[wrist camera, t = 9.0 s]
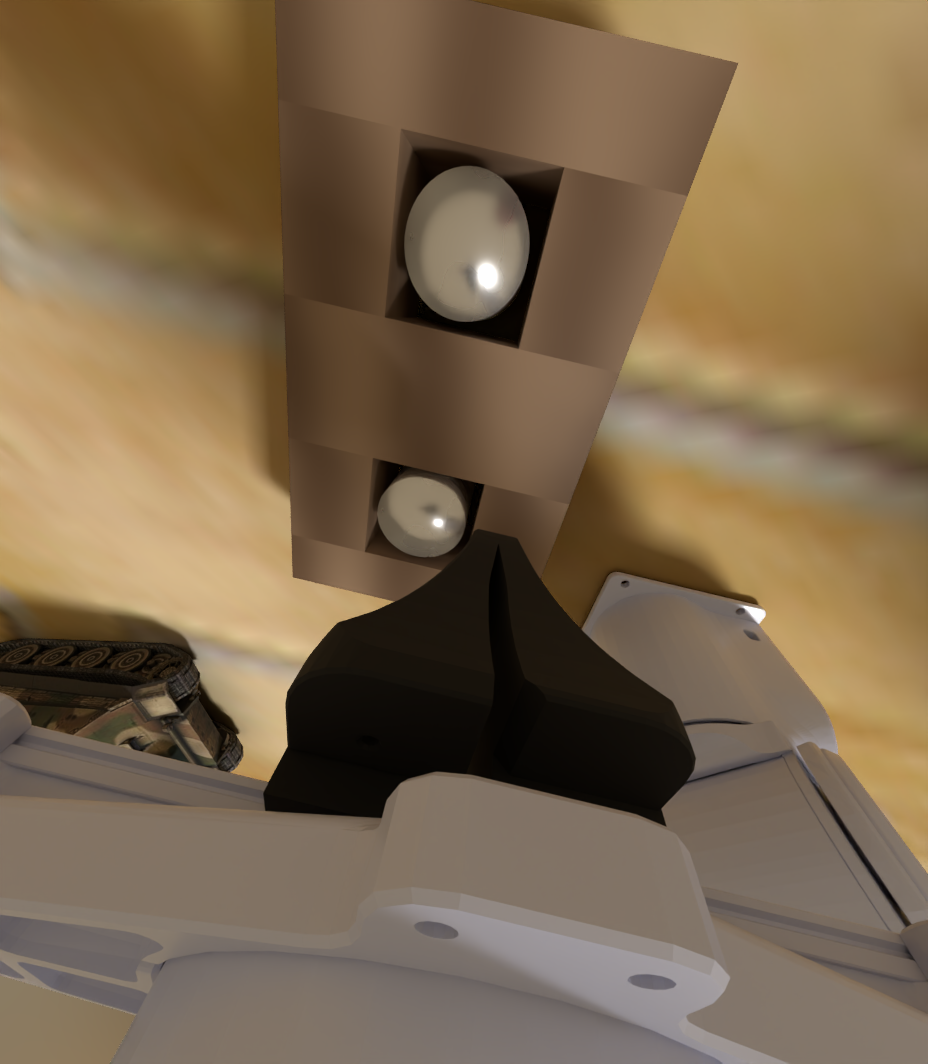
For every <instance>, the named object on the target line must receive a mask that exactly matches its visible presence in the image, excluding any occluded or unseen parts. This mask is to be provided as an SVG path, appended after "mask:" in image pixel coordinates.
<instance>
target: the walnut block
mask: <svg viewBox="0 0 928 1064" xmlns="http://www.w3.org/2000/svg"><path fill="white" fill-rule="evenodd" d="M275 12H276V45H277V77H278V110H279V142H280V175H281V208H282V240H283V273H284V305H285V338H286V371H287V403H288V436H289V468H290V501H291V534H292V566H293V577H294V578H299V579H303V580H307V581H311V582H315V583H319V584H324V585H328V586H332V587H336V588H340V589H345V590H349V591H353V592H357V593H361V594H366V595H370V596H374V597H378V598H382V599H386V600H391V601H397V600H399V599H401V598H403V597H405V596H406V595H408V594H410V593H411V592H413V591H415V590H416V589H418V588H419V587H421V586H422V585H424V584H425V583H427V582H428V581H429V580H431V579H432V578H433V577H435V576H436V575H437V574H438V573H439V572H441V571H442V570H443V569H444V568H445V567H446V566H447V565H448V564H449V563H450V562H451V561H452V560H453V559H454V558H455V557H456V556H457V555H458V554H459V553H460V552H461V550H462V549H463V548H464V547H465V546H466V544H467V543H468V541H469V540H470V538H471V537H472V535H473V532H474V531H475V530H477V529H481V530H486V531H490V532H494V533H498V534H502V535H507V536H511V537H515V538H517V539H518V540H519V542H520V544H521V546H522V548H523V550H524V552H525V554H526V555H527V557H528V559H529V561H530V563H531V565H532V566H533V568H534V570H535V571H536V573H537V575H538V576H539V578H540V579H541V577H542V574H543V571H544V569H545V566H546V564H547V561H548V558H549V556H550V553H551V550H552V548H553V545H554V543H555V540H556V537H557V535H558V532H559V530H560V527H561V524H562V522H563V519H564V517H565V514H566V511H567V509H568V506H569V504H570V501H571V498H572V496H573V493H574V490H575V488H576V485H577V483H578V480H579V477H580V475H581V472H582V470H583V467H584V464H585V462H586V459H587V457H588V454H589V451H590V449H591V446H592V444H593V441H594V438H595V436H596V433H597V430H598V428H599V425H600V423H601V420H602V417H603V415H604V412H605V410H606V407H607V404H608V402H609V399H610V397H611V394H612V391H613V389H614V386H615V384H616V381H617V378H618V376H619V373H620V370H621V368H622V365H623V363H624V360H625V357H626V355H627V352H628V350H629V347H630V344H631V342H632V339H633V337H634V334H635V331H636V329H637V326H638V324H639V321H640V318H641V316H642V313H643V311H644V308H645V305H646V303H647V300H648V297H649V295H650V292H651V290H652V287H653V284H654V282H655V279H656V277H657V274H658V271H659V269H660V266H661V264H662V261H663V258H664V256H665V253H666V251H667V248H668V245H669V243H670V240H671V237H672V235H673V232H674V230H675V227H676V224H677V222H678V219H679V217H680V214H681V211H682V209H683V206H684V204H685V201H686V198H687V196H688V193H689V191H690V188H691V185H692V183H693V180H694V177H695V175H696V172H697V170H698V167H699V164H700V162H701V159H702V157H703V154H704V151H705V149H706V146H707V144H708V141H709V138H710V136H711V133H712V131H713V128H714V125H715V123H716V120H717V117H718V115H719V112H720V110H721V107H722V104H723V102H724V99H725V97H726V94H727V91H728V89H729V86H730V84H731V81H732V78H733V76H734V73H735V71H736V68H737V65H738V63H735V62H731V61H727V60H722V59H718V58H714V57H710V56H705V55H701V54H697V53H693V52H688V51H684V50H680V49H676V48H671V47H667V46H663V45H659V44H654V43H650V42H646V41H642V40H637V39H633V38H629V37H625V36H620V35H616V34H612V33H607V32H603V31H599V30H595V29H590V28H586V27H582V26H578V25H573V24H569V23H565V22H561V21H556V20H552V19H548V18H544V17H539V16H535V15H531V14H527V13H522V12H518V11H514V10H510V9H505V8H501V7H497V6H493V5H488V4H484V3H480V2H475V1H471V0H275ZM460 166H475V167H481V168H484V169H487V170H489V171H491V172H493V173H495V174H497V175H498V176H499V177H501V178H502V179H503V180H504V181H505V182H506V183H507V184H508V185H509V186H510V187H511V188H512V190H513V191H514V192H515V194H516V195H517V197H518V199H519V201H520V202H521V203H523V204H527V205H532V206H536V207H540V208H544V209H549V210H550V214H549V218H548V223H547V227H546V231H545V235H544V239H543V243H542V247H541V251H540V255H539V259H538V263H537V267H536V271H535V275H534V279H533V283H532V287H531V291H530V295H529V299H528V303H527V307H526V311H525V315H524V319H523V324H522V328H521V332H520V336H519V340H518V341H514V340H510V339H505V338H501V337H497V336H493V335H489V334H484V333H480V332H476V331H472V330H467V329H463V328H459V327H455V326H451V325H446V324H442V323H438V322H434V321H429V320H425V319H421V318H417V312H418V304H419V294H418V293H417V291H416V289H415V287H414V286H413V284H412V281H411V279H410V276H409V273H408V269H407V266H406V260H405V250H404V240H405V231H406V225H407V221H408V217H409V214H410V212H411V209H412V206H413V204H414V203H415V201H416V199H417V197H418V196H419V194H420V193H421V191H422V190H423V189H424V188H425V186H426V185H427V184H428V183H429V182H430V181H431V180H433V179H434V178H435V177H436V176H438V175H439V174H441V173H443V172H444V171H447V170H449V169H452V168H456V167H460ZM399 464H401V465H405V466H409V467H413V468H418V469H422V470H426V471H430V472H435V473H439V474H443V475H447V476H451V477H456V478H460V479H464V480H468V481H472V482H477V483H481V484H483V485H482V489H481V493H480V497H479V501H478V505H477V509H476V513H475V517H474V522H473V526H470V525H465V529H464V532H463V535H462V537H461V539H460V541H459V542H458V544H457V545H456V546H455V547H454V548H452V549H451V550H450V551H448V552H446V553H444V554H442V555H439V556H435V557H418V556H413V555H410V554H407V553H405V552H403V551H401V550H399V549H398V548H397V547H395V546H394V545H393V544H392V543H391V542H390V541H389V540H388V539H387V538H386V537H385V535H384V534H383V532H382V530H381V528H380V525H379V522H378V515H377V512H378V504H379V501H380V499H381V497H382V495H383V494H384V492H385V491H386V490H387V488H388V487H389V486H390V484H391V483H392V482H393V480H394V479H395V478H396V476H397V475H398V467H399Z"/></svg>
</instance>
